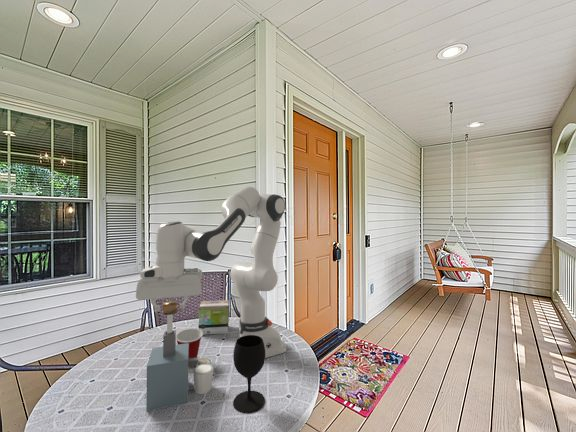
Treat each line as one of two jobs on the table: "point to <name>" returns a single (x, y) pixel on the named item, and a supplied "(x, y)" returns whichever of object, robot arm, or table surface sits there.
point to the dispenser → (168, 374)
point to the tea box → (214, 317)
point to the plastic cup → (190, 340)
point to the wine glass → (249, 371)
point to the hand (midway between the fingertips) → (170, 310)
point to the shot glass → (203, 378)
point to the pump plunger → (169, 313)
